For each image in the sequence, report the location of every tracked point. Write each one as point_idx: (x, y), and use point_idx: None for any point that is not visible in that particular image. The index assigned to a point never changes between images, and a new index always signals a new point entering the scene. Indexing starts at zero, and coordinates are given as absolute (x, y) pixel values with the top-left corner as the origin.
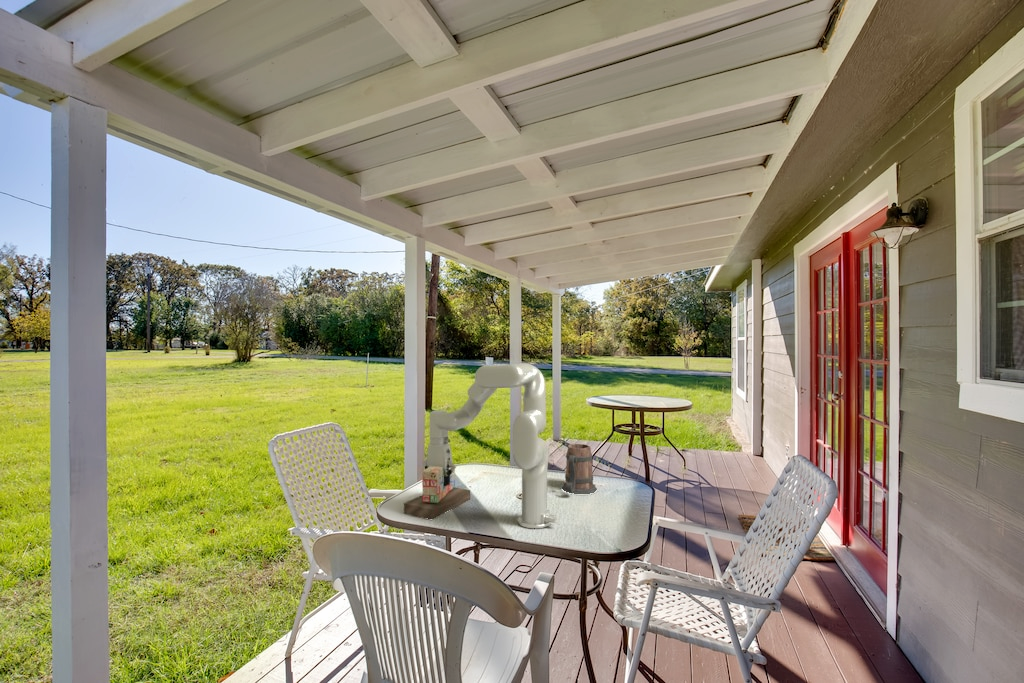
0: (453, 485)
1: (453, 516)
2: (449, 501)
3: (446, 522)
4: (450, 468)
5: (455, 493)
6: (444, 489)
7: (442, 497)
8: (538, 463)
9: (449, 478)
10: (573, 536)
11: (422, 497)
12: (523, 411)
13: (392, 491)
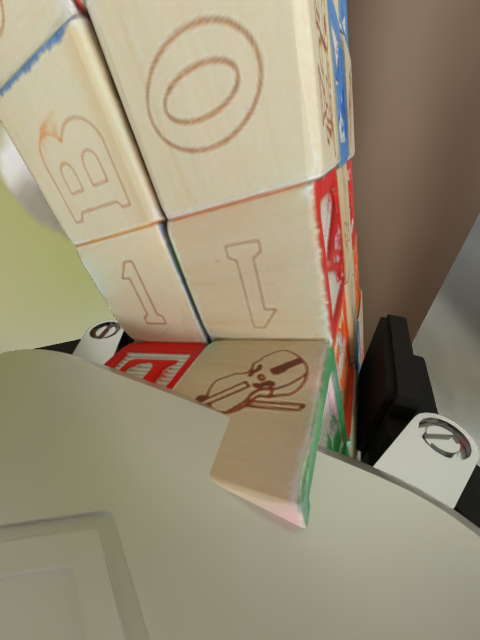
0: (344, 9)
1: (467, 358)
2: (418, 322)
3: (446, 415)
4: (294, 104)
5: (418, 141)
6: (360, 335)
7: (363, 343)
8: None
9: (427, 401)
10: None
11: None
12: None
13: (7, 159)
